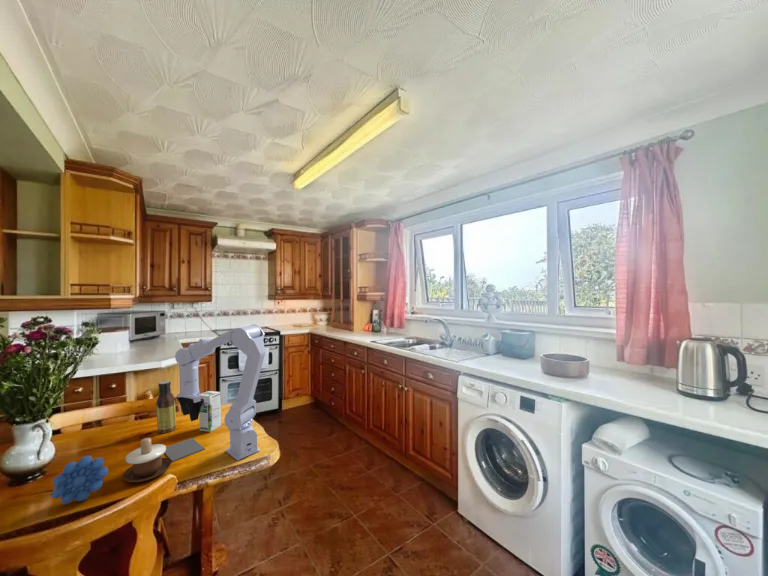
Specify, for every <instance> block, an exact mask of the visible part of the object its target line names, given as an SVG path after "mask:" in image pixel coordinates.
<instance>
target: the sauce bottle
mask: <svg viewBox="0 0 768 576" xmlns="http://www.w3.org/2000/svg"><path fill="white" fill-rule="evenodd" d="M157 385H158V388H159V389H158V393H159V394H158V397H157V399H156V402H155V409H156V424H157V426H156V427H157V431H158V433H161V434H166V433H170V432H173V431H174V430H175V429H176V426H177V415H176V403H175V402H176V401H175V396H174V394H173V393H172V392H171V391H172V390H171V380H162V381H160V382H158V384H157Z"/></svg>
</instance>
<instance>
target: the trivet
mask: <svg viewBox="0 0 768 576" xmlns="http://www.w3.org/2000/svg"><path fill="white" fill-rule="evenodd" d="M204 450H206V448H205V447H204V446H203V445H202V444H201V443H199V442H198V441H197V440H195V439H194V438H193V437H192V438H187V439H186V440H182V441H180V442H177V443H174V444H171V445H168V446H166V452H165V453H164V455H165V456H167V458H168V459H170V460H171V463H174V462H176V461H179V460H182V459H184V458H186V457H189V456H192V455H195V454H197V453H200V452H202V451H204Z"/></svg>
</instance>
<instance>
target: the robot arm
mask: <svg viewBox="0 0 768 576" xmlns="http://www.w3.org/2000/svg"><path fill="white" fill-rule="evenodd" d="M265 334H266V333H265V332H264V331H263V329H262V328H261V326H260V325H258V324H251V325H248V326H244V327H243V326H242V327H237V328H234V329H231V330H228V331H225V332H224V333H222V334H220V335H218V336H216V337H214V338H212V339H210V338H205V337H202V338H200V339H198V342H195V343H190V344H189V345H188V347H184V348H179V349H178V350H177V351H176V352H175V355H174V357H175V358H174V359H175V361H176V363H177V364H178V365H179V386H180V388H179V393H178V394H176V397H175V398H176V400H177V401H178V404H179V405H180V408H181V411H182V415H183V416H186V415H189V419H190V422H193V421H198V420H199V413H200V409H201V406H202V404H203V403H204V399H200V394H201V392H200V391H201V390H200V385H199V383H200V381H199V379H200V378H199V365H200V360H201V359H202V358H205V357H207V356H209V355H211V354H214V353H215V351H216V348H218V347H221V346H223V345H226V344H233V345H234V347H236V348H237V349H238V350H240V351H241V353H243V354H244V355H245V356H246V359H245V363H244V367H243V371H242V374H241V375H242V376H241V378H240V379H241V380H240V382H239V386H238V387H239V388H238V390H237V395H236V398H235V400H234V401H233V403H232V404H230V406H229V409H228V411H227V413H226V414H225V415H224V419H223V420H224V424H225V426H226V428H227V429H228V431H229V448H226V449H225V452H226V453H227V454H229V455H230V456H231V457H232V458H234V459H235V461H240V460H241V459H244V458H246V457H249V456H251V455H253V454H255V453H256V454H257V453H258V452H259V451H261V450H260V448H259V447H258V434H257V432H256V431H255V429H254V428H253V421H254V419H253V418H255V416H256V415H257V407H256V404H257V401H256V399H254V397H255V393H256V389H257V385H258V382H259V378H260V374H261V370H262V366H263V363H264V359H265V355H266V348H265V343H264V337H265Z"/></svg>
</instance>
